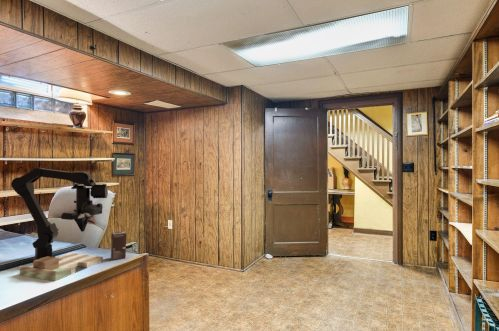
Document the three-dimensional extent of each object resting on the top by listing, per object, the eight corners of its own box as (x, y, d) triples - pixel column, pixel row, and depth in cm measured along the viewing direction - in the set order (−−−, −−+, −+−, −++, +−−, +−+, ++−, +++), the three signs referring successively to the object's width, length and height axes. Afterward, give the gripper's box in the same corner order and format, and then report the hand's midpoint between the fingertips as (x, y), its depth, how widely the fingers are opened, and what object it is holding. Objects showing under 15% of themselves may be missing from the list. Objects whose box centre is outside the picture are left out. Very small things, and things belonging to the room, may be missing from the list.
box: (112, 260, 138) (112, 234, 138) (110, 257, 142) (111, 232, 142) (126, 258, 142) (126, 232, 142) (124, 255, 146) (124, 231, 145)
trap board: (19, 275, 119) (19, 266, 119) (71, 256, 142) (71, 249, 142) (55, 281, 114) (55, 271, 114) (102, 261, 137) (102, 253, 137)
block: (33, 271, 118) (33, 260, 118) (47, 266, 124) (47, 256, 124) (44, 272, 117) (45, 262, 117) (58, 267, 122) (58, 257, 122)
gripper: (80, 201, 131) (80, 237, 131) (111, 197, 149) (111, 228, 149) (60, 200, 134) (60, 235, 135) (93, 196, 152) (92, 226, 152)
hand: (82, 231), depth 143 cm, fingers closed
